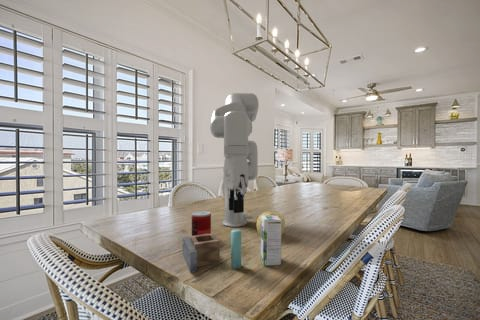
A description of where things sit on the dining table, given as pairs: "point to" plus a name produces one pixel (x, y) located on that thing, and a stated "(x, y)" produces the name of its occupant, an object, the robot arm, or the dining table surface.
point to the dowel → (236, 248)
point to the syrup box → (270, 240)
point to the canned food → (201, 223)
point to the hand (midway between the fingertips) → (236, 210)
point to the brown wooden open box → (206, 248)
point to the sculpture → (270, 214)
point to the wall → (190, 254)
